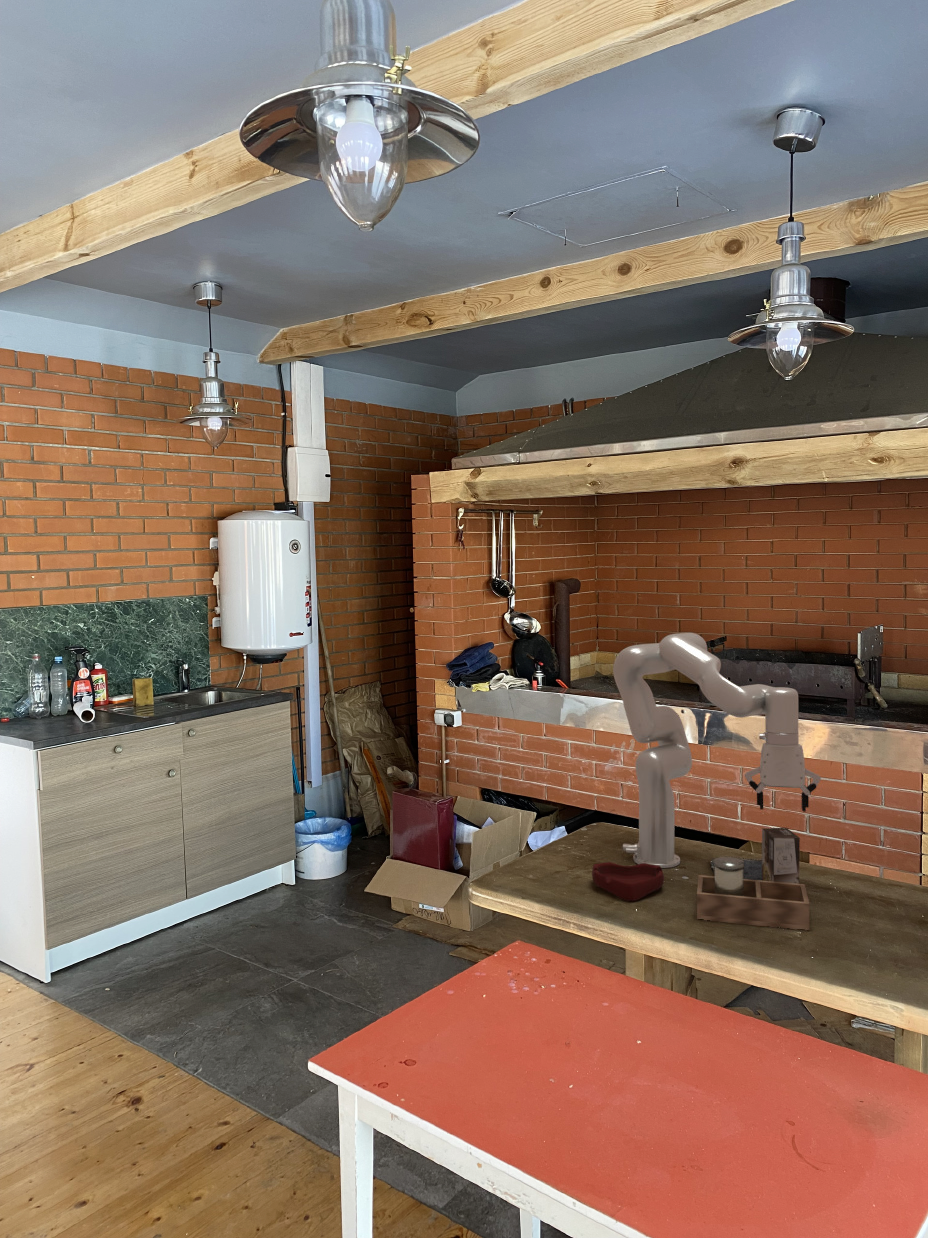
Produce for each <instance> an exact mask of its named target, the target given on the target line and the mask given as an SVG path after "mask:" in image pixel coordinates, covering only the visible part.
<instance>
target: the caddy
mask: <svg viewBox="0 0 928 1238" xmlns="http://www.w3.org/2000/svg"><path fill="white" fill-rule="evenodd" d="M697 880H698V881H697V889H696V920H697V919H704V920H703V921H707V920H710V921H709V922H717V921H718V923H719V922H720V923H729V924H739V925H749V926H759V927H767V926H769V927H768V928H777V927H781V928H780V929H787V928H790V930H797V929H805V930H804V931H807V930H809V931H810V901H809V896H808V892H807V889H806V884H804V883H799V884H796V883H784V882H773V881H762V879H761V880H760V879H746V878H743V896H734V895H723V894H715V875H714V876H713V875H712V876H711V875H702V874H701V875H700V874H699V875H698V879H697Z"/></svg>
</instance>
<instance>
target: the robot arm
mask: <svg viewBox="0 0 928 1238" xmlns="http://www.w3.org/2000/svg"><path fill="white" fill-rule="evenodd" d="M721 667H722V662H721V659H720V658H719V657H718V656H716V655H715V654H713V653H711V652H709V651H708V645H707V643H706V640H705V639H704V638H703V636H700V634H697V633H694V632H682V633H680V632H679V633H672V634H671V633H670V634H668V635H666V636H665V637H663V638H662V639H661V641H660V642H658V643H657V642H655V643H643V644H642V643H641V644H634V645H630V646H627V647H626V648H624V649H622V650H621V651H619V653H618V654H617V656H616V657H615V660H614V662H613V667H612V668H613V669H612V670H613V671H612V672H613V678H614V681H615V684H616V686H617V687H616V688H617V689H618V691H619V694H620V697H621V700H622V704H623V708H624V711H625V715H626V719H627V722H628V725H629V729H630V732H631V735H632V737H633V738H634V740H635V741H636V742H638V743H640V744H651V743H657V744H658V745H657V746H654V747H649V748H646V749H644V750H642V751H641V752H640V753H639V754H638V756H637V757H636V760H635V766H634V767H635V774H636V779H637V785H638V842H637V843H634V844H630V843H622V851H624V852H625V853H629V854H633V856H632V857H633V862H634V863H636V865H638V864H642V863H647V864H651V865H659V866H660V867H661V868H662V869H668V868H669V869H670V868H674V867H677V866H678V865H680V864H681V858H680V856H679V855H678V854H676V853H675V795H674V791H673V789H672V786H671V782H670V781H671V780H674V779H677V778H678V779H679V778H682V777H685V776H686V775H688V774H689V773H690V771H691V769H692V767H693V757H692V756H693V755H692V751H691V748H690V745H689V740H688V739H687V734H686V731H685V728H684V725H683V721H682V719H681V717H680V716H679V714H678V712H676V711H675V709H673V708H672V707H669V706H668V705H667V706H666V705H659V706H657V704H656V701H655V698H654V694H653V692H652V690H651V687H650V686H649V685H648V683H647V682H646V680H645V679H644V678H643V677H644V676H646V675H655V674H662V673H667V672H671V671H675V670H676V671H678V673H681V674H682V675H684V676H686V677H687V678H689V679H690V680H691V681H693V682H694V683H695V684H697V685H699V689H700V690H701V692H702V694H703V695H704V696H705V698H706V699H707V700H708V701H709V702H710V703H712V704H713V705H714V706H715V707H717V708H718V709H720V710H722V711H723V712H725V713H726V714H727V715H730V716H731V717H735V718H747V717H752V716H760V715H765V717H764V718H765V719H764V720H765V721H764V722H765V723H764V724H765V725H764V726H765V730H764V731H765V732H762V733H759V737H758V739H759V740H763V741H764V743H762V746H761V751H760V761H759V763H760V764H759V766H758V767H756V768H753V769H751V770H748V771H747V772H745V773H744V777H745V779H746V782H747V783H748V785H749V786H750V787H751V788H752V789H753V790H754V791H755V792H756V806H759V809H760V810H764V792H763V790H764V789H765V788H767V787H769V788H789V789H791V788H792V789H793V788H794V789H796V788H797V789H800V790H801V791H802V792H801V810H802V812H805V813H806V811H807V808H810V807H809V805H810V804H809V803H810V802H809V798H810V797H809V796H810V794H811V793H812V792H813V791H814V790H816V789H817V786H818V785H819V783H820V781H821V779H822V778H821V775H819V774H817V773H815V772H813V771H811V770H809V769H807V768H806V766H805V765H806V764H805V756H804V749H803V745H802V744H800V743H799V741H800V740H799V737H800V736H799V734H800V733H799V693H798V691H797V690H796V689H795V688H791V687H784V686H783V687H781V686H779V687H775V686H770V685H767V684H761V683H757V684H749V685H741V686H739V685H738V684H735V683H733V682H732V681H730V680H728V679H727V678H726V677H724V676H723V675H722V674H721V673H720V671H721ZM758 774H759V779H760V780H759V783H757V782H755V780H754V779H753V777H754V776H756V775H758ZM806 777H809V778H811V779H812V781H811V783H810V784H808V785H806Z"/></svg>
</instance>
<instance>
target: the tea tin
mask: <svg viewBox="0 0 928 1238" xmlns="http://www.w3.org/2000/svg"><path fill="white" fill-rule="evenodd" d="M713 866H714V877H715V894H723V895H734V896H743V879H744V869H745V861H744V860H743V859H740V858H737V857H733V856H732V857H731V856H720V857H716V858H714V859H713Z"/></svg>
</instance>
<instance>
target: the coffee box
mask: <svg viewBox="0 0 928 1238" xmlns="http://www.w3.org/2000/svg"><path fill="white" fill-rule="evenodd" d="M761 837H762V838H761V881H773V882H784V883H796V884H800V849H801V848H800V847H801V846H800V845H801V843H800V840H801V838H800V837H799V836H798V835H796V833H794V832H793V831H792V830H790V829H789V828H787V827H770V828H768V827H766V828H761Z"/></svg>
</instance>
